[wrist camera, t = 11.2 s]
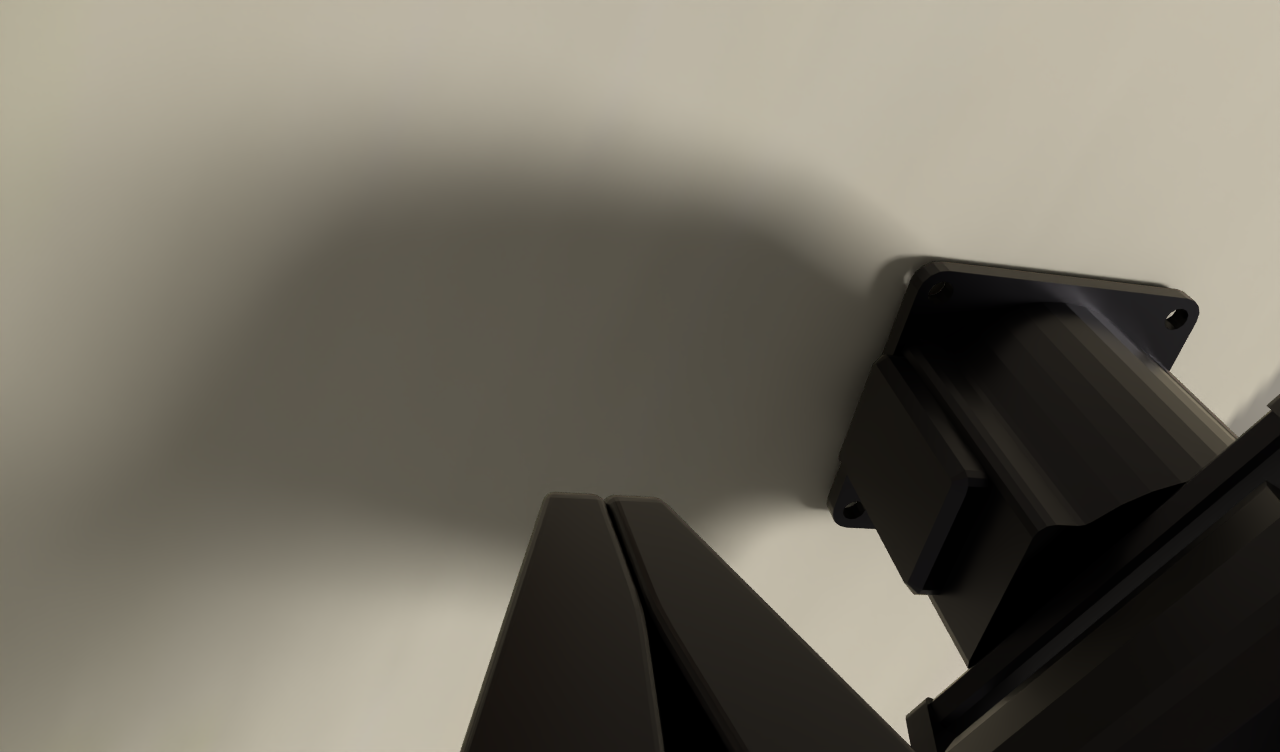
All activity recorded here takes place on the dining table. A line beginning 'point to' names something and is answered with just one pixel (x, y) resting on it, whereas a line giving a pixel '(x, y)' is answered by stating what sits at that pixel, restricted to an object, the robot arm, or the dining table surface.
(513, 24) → the dining table surface
